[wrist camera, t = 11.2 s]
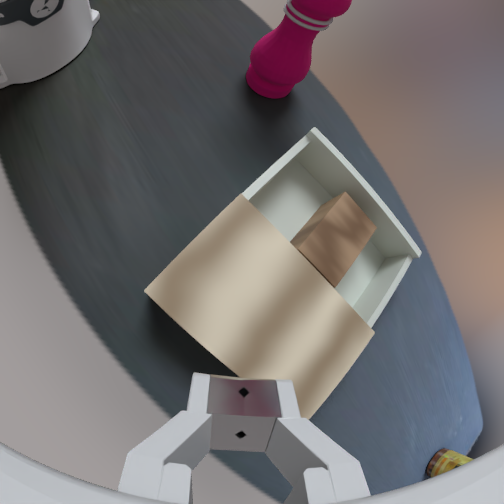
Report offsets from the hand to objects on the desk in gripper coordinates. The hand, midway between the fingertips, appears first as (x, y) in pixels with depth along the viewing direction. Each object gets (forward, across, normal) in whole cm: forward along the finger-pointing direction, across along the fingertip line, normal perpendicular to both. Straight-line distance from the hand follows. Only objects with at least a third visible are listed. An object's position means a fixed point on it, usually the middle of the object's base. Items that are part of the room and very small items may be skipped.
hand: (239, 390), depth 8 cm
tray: (+24, -9, +1) cm, 26 cm away
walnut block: (+19, -7, +3) cm, 20 cm away
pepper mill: (+33, -2, -17) cm, 37 cm away
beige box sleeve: (+19, -3, +8) cm, 21 cm away
